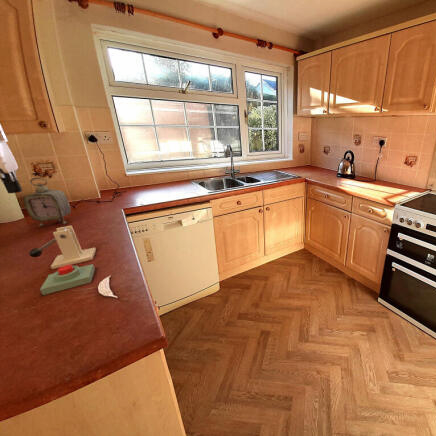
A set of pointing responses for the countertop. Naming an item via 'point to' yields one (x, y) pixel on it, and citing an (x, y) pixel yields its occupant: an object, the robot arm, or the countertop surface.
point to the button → (65, 269)
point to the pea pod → (105, 288)
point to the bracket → (70, 248)
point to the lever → (42, 248)
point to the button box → (68, 279)
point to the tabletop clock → (46, 204)
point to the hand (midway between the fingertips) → (15, 192)
